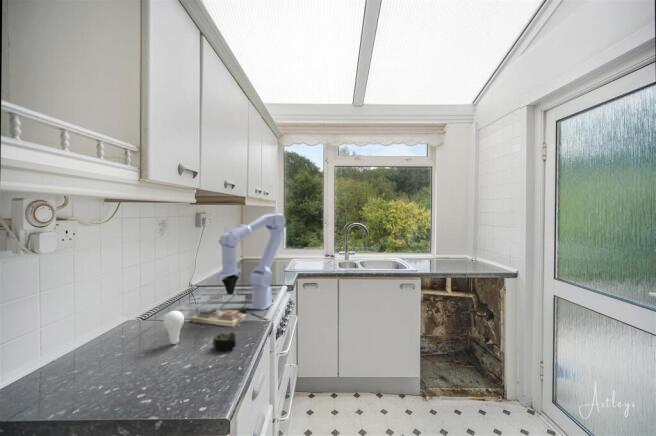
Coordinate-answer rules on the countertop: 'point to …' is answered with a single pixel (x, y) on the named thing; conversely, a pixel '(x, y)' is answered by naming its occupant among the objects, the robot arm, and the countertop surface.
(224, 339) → the tape measure
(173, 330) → the lightbulb
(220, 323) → the button mount
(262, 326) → the countertop surface
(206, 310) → the button charcoal
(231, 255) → the robot arm
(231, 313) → the button terracotta
